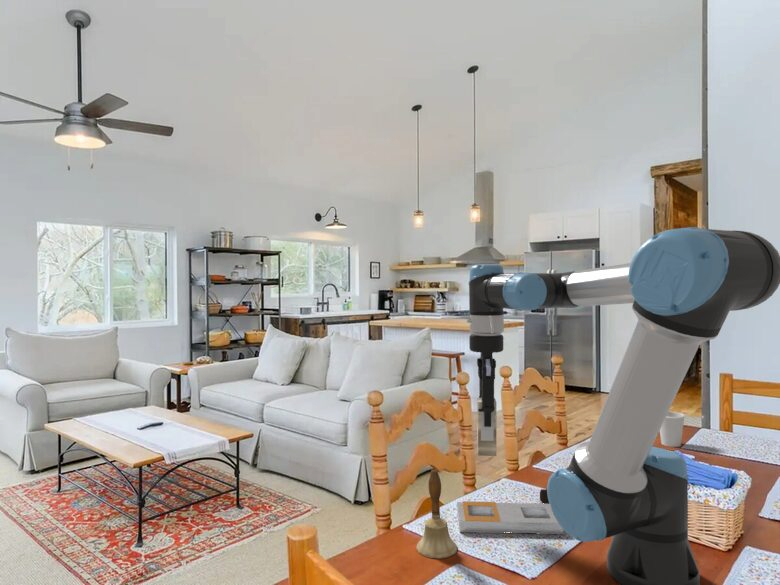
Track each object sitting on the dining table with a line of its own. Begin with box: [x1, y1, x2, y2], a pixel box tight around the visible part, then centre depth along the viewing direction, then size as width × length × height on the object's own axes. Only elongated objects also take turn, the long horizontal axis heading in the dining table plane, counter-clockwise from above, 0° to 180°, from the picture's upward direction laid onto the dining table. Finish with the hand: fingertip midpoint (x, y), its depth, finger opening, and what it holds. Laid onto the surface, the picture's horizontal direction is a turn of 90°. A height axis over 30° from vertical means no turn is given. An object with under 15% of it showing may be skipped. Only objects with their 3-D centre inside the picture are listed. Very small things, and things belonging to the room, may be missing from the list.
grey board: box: [456, 500, 565, 535], centre depth 117 cm, size 10×22×3 cm, turn 86°
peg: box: [476, 397, 497, 457], centre depth 118 cm, size 4×4×12 cm
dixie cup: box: [659, 411, 686, 448], centre depth 173 cm, size 8×8×10 cm
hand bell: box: [415, 468, 458, 559], centre depth 106 cm, size 8×8×16 cm
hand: (486, 436), depth 118 cm, fingers closed on peg, 4 cm apart
